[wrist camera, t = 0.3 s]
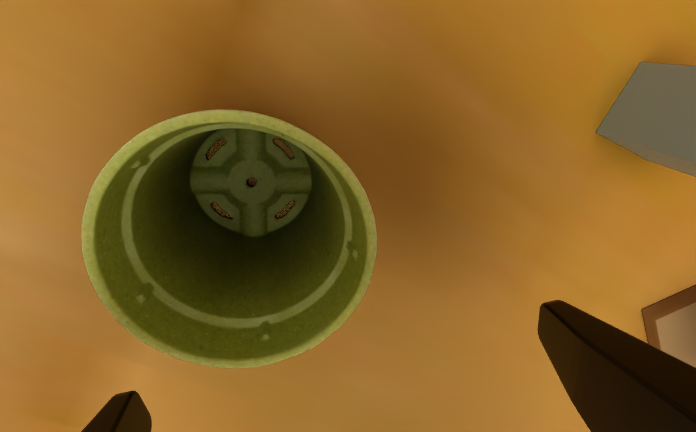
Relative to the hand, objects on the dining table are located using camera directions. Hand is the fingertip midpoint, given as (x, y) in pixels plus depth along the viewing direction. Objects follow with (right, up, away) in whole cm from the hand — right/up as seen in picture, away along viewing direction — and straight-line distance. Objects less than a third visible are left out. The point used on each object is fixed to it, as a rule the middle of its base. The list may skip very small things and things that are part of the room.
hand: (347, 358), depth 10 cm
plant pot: (-5, +5, +13) cm, 15 cm away
